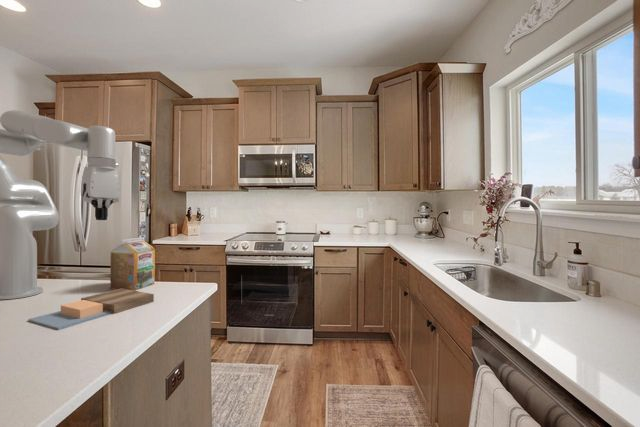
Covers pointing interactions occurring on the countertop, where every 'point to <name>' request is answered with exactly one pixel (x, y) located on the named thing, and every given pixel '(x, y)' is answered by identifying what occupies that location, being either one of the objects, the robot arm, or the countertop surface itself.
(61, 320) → the mat
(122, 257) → the milk carton
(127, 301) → the stand
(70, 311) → the tile
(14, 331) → the countertop surface
